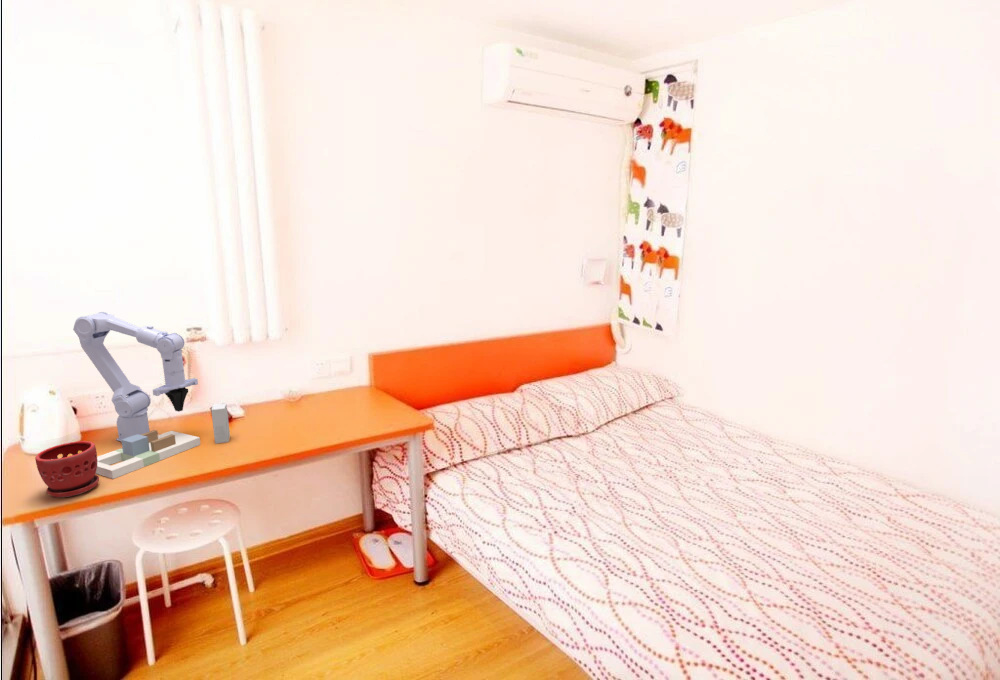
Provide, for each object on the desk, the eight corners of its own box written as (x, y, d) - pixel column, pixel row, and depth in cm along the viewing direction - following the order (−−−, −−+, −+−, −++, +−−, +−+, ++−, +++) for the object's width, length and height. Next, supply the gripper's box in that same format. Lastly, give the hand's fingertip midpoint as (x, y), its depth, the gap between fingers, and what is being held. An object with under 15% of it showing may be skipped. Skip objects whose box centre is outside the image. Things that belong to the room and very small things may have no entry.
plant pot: (90, 475, 165) (83, 436, 162) (109, 487, 157) (103, 447, 155) (34, 492, 154) (27, 451, 152) (53, 506, 147) (45, 463, 144)
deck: (83, 469, 168) (81, 452, 167) (172, 437, 193) (170, 422, 192) (113, 478, 163) (110, 460, 161) (200, 444, 187) (198, 428, 186)
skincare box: (216, 437, 193) (212, 403, 191) (230, 435, 195) (226, 402, 192) (214, 444, 188) (210, 409, 185) (228, 442, 189) (225, 408, 187)
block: (123, 453, 174) (121, 439, 173) (139, 447, 178) (137, 434, 177) (133, 456, 172) (131, 442, 171) (149, 450, 176) (147, 436, 175)
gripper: (160, 378, 178) (166, 419, 181) (202, 367, 191) (206, 405, 194) (146, 375, 181) (151, 416, 184) (187, 365, 194) (192, 403, 197)
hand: (179, 410), depth 189 cm, fingers closed
